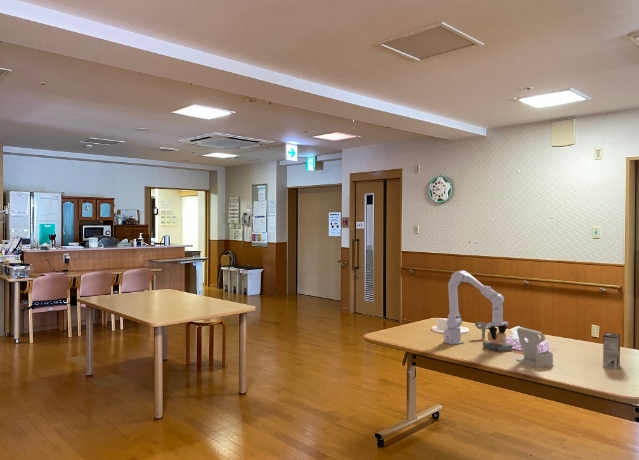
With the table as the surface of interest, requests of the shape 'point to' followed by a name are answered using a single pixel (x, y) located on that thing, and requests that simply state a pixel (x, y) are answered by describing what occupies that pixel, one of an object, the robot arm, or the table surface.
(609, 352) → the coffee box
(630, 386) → the table surface
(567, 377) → the table surface
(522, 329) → the phone holder
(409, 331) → the table surface
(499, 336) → the housing
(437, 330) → the dish
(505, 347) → the dark grey flat block
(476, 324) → the mechanical component
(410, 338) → the table surface
